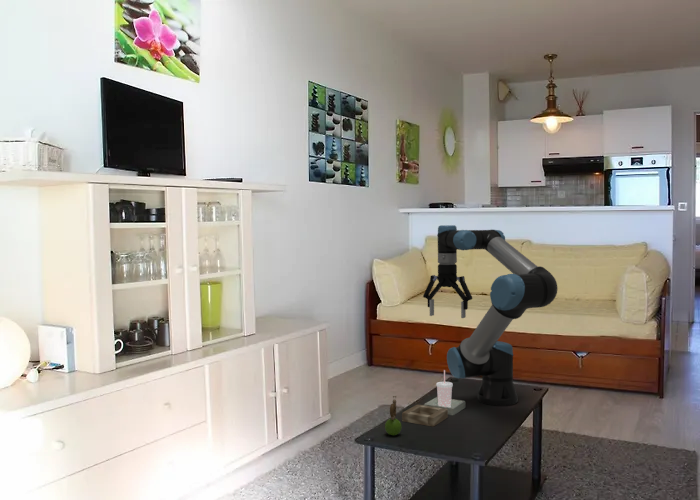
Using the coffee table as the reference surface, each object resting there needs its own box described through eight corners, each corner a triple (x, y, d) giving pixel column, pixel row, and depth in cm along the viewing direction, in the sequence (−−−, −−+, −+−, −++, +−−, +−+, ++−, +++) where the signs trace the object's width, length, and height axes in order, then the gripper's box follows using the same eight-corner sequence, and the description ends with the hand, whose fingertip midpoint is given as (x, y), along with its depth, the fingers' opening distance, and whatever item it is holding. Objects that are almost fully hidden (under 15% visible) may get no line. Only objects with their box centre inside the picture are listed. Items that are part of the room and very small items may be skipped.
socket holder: (447, 417, 227) (447, 409, 227) (433, 426, 217) (433, 417, 217) (417, 412, 233) (417, 404, 233) (402, 421, 223) (402, 412, 223)
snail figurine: (403, 431, 212) (402, 396, 211) (400, 438, 205) (400, 401, 205) (386, 430, 213) (386, 395, 212) (383, 437, 207) (383, 400, 206)
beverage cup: (433, 406, 239) (433, 369, 238) (447, 404, 241) (447, 367, 241) (441, 410, 233) (441, 372, 233) (456, 408, 236) (455, 371, 235)
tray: (465, 407, 239) (465, 400, 239) (453, 415, 229) (453, 408, 229) (436, 403, 245) (436, 396, 245) (423, 410, 235) (423, 404, 235)
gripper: (414, 263, 258) (415, 315, 259) (473, 265, 245) (473, 320, 246) (422, 262, 265) (423, 313, 266) (480, 264, 252) (480, 317, 252)
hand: (447, 316), depth 256 cm, fingers open, 13 cm apart
